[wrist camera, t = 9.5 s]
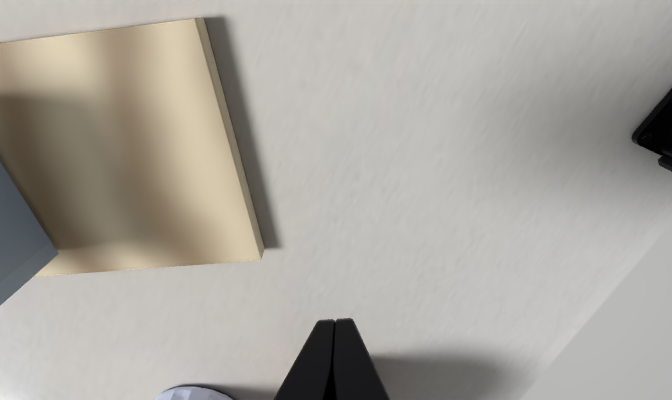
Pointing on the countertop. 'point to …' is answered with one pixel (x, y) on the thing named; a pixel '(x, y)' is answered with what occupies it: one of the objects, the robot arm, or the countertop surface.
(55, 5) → the countertop surface
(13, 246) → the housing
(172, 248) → the flat panel
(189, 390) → the soap bottle
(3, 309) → the countertop surface
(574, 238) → the countertop surface
